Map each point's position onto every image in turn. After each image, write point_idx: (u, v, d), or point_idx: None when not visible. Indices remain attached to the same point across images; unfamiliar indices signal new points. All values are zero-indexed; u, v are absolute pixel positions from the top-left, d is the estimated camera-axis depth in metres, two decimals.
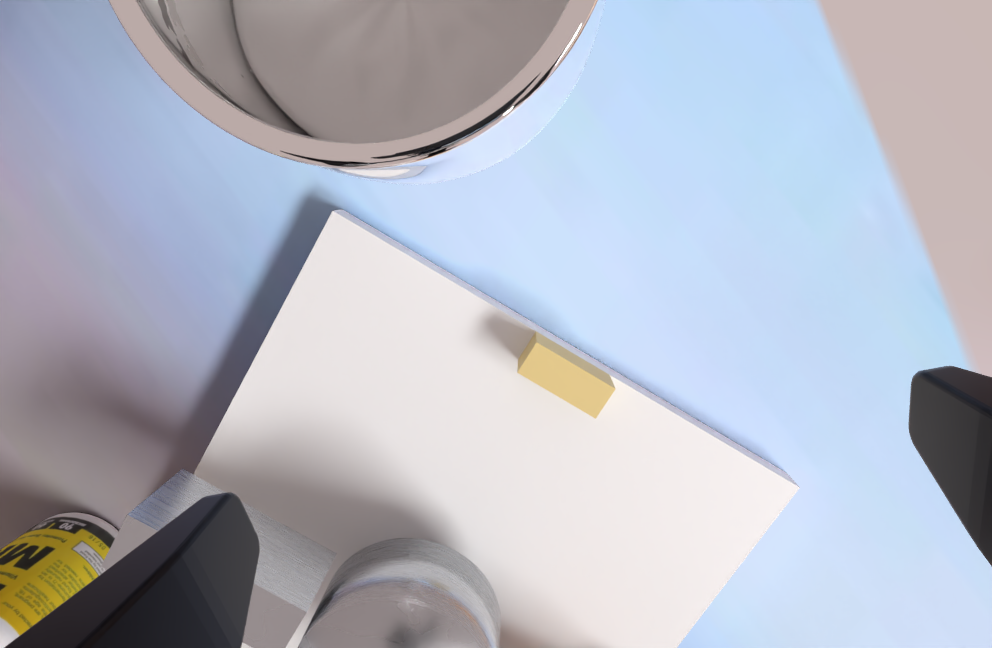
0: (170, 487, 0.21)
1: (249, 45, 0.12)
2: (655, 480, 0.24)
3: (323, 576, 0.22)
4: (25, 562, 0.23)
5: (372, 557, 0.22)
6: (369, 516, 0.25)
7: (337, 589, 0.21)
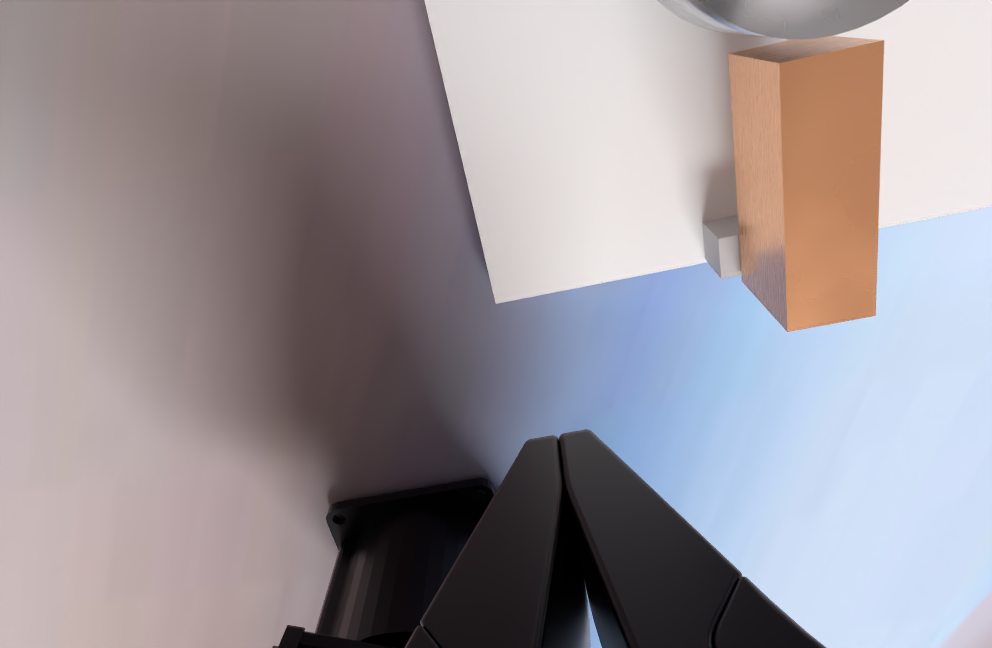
0: None
1: None
2: None
3: None
4: None
5: None
6: None
7: None
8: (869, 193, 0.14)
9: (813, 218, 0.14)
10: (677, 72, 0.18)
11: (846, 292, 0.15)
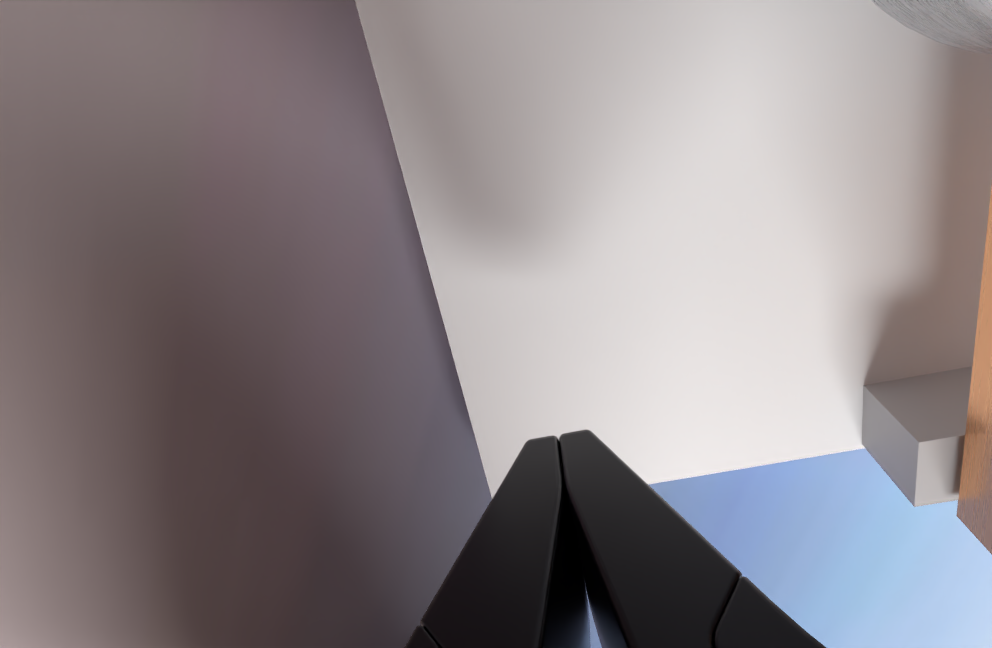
0: None
1: None
2: None
3: None
4: None
5: None
6: None
7: None
8: None
9: None
10: (847, 127, 0.09)
11: None
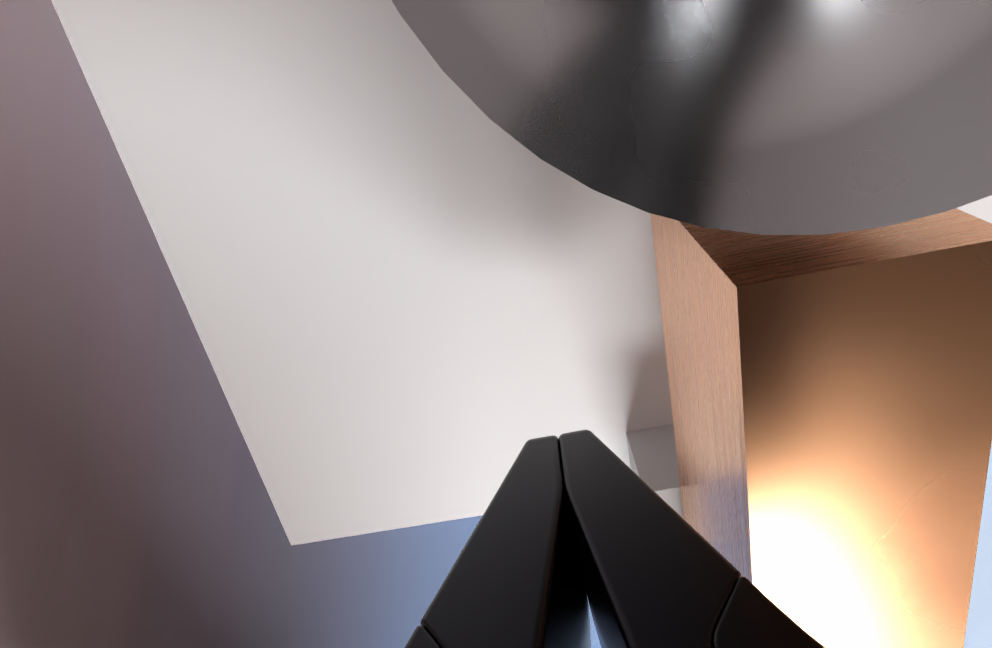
0: None
1: None
2: None
3: None
4: None
5: None
6: None
7: None
8: (953, 555, 0.06)
9: (821, 597, 0.06)
10: (569, 194, 0.10)
11: None
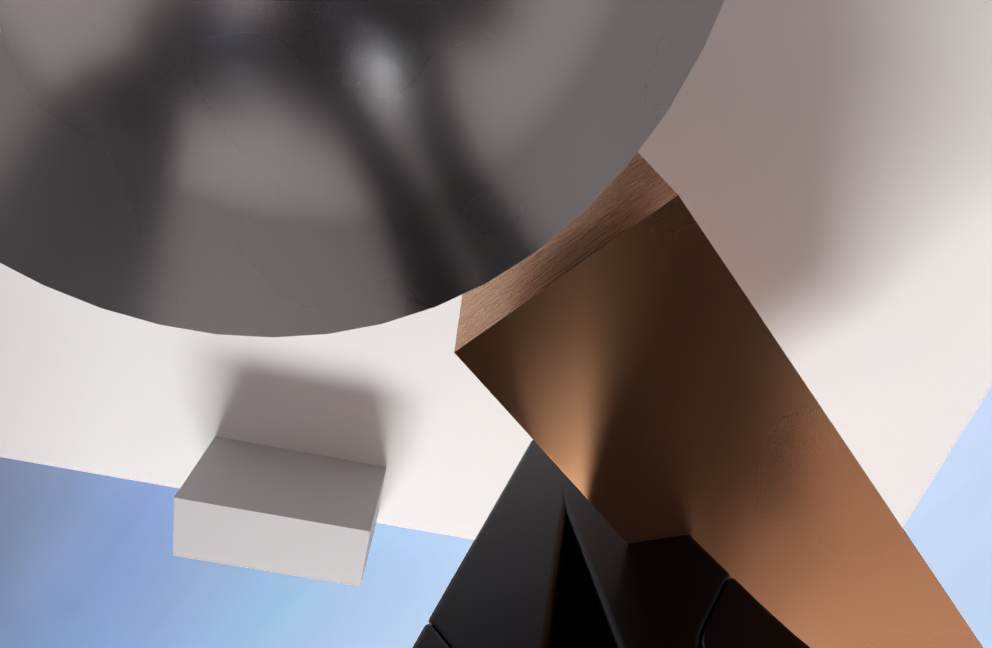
0: None
1: None
2: (833, 393, 0.11)
3: None
4: None
5: None
6: None
7: None
8: (844, 489, 0.06)
9: (740, 572, 0.06)
10: None
11: None
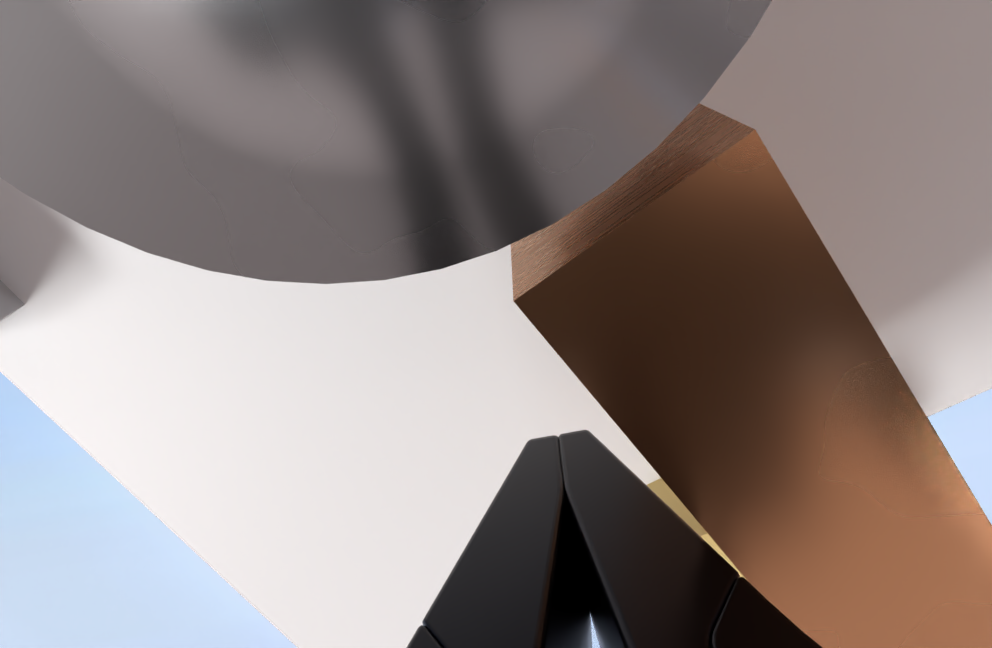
0: None
1: None
2: (443, 518, 0.12)
3: None
4: None
5: None
6: None
7: None
8: (912, 447, 0.05)
9: (800, 536, 0.06)
10: None
11: (961, 624, 0.06)
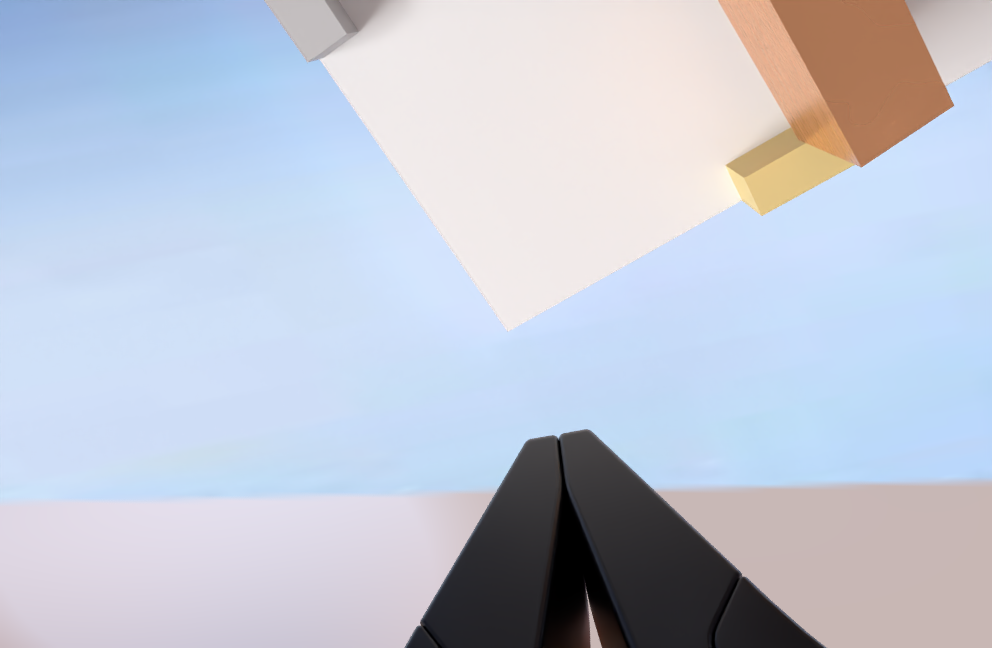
0: None
1: None
2: (594, 193, 0.19)
3: None
4: None
5: None
6: None
7: None
8: None
9: (832, 38, 0.13)
10: None
11: (907, 96, 0.13)
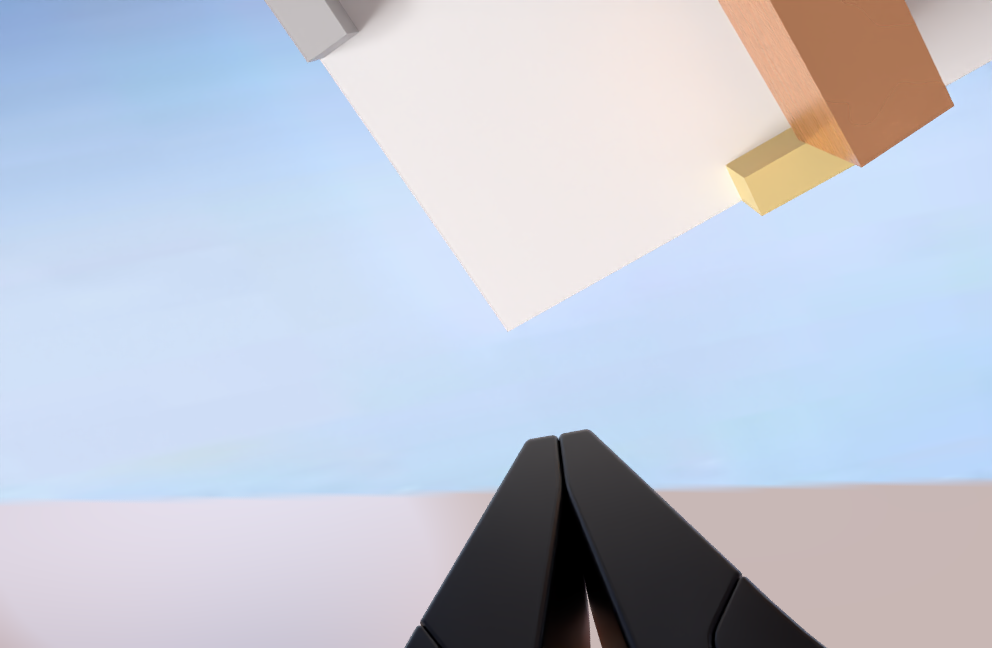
0: None
1: None
2: (594, 193, 0.19)
3: None
4: None
5: None
6: None
7: None
8: None
9: (832, 38, 0.13)
10: None
11: (908, 96, 0.13)
